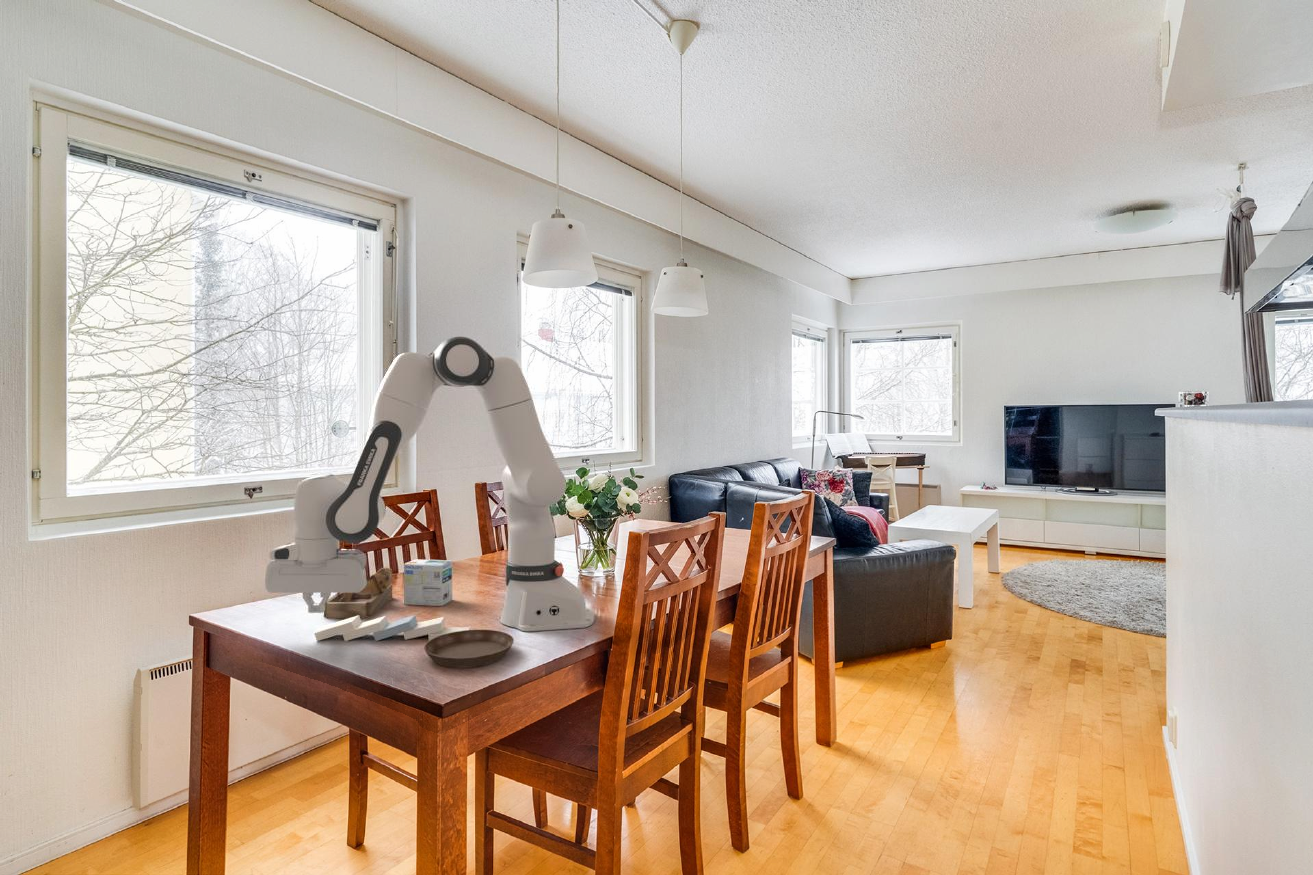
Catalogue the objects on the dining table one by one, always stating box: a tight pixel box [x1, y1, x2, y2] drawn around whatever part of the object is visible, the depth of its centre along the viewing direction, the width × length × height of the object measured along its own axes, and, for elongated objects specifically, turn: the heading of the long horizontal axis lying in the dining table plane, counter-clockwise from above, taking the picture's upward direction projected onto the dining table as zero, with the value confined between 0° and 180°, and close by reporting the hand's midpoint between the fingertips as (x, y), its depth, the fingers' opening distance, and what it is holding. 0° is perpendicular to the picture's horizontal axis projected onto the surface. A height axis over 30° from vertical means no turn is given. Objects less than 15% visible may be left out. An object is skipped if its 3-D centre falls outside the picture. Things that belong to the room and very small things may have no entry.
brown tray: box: [323, 584, 393, 619], centre depth 172 cm, size 11×19×4 cm, turn 5°
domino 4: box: [402, 616, 446, 641], centre depth 151 cm, size 2×5×8 cm
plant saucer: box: [423, 629, 515, 669], centre depth 139 cm, size 18×18×3 cm
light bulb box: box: [403, 558, 453, 607], centre depth 177 cm, size 11×7×11 cm, turn 84°
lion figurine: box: [336, 567, 394, 602], centre depth 172 cm, size 15×5×9 cm, turn 124°
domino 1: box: [313, 615, 362, 642], centre depth 149 cm, size 2×5×8 cm
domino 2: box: [341, 615, 389, 642], centre depth 149 cm, size 2×5×8 cm
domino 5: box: [428, 626, 471, 641], centre depth 151 cm, size 2×5×8 cm
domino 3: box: [372, 614, 418, 642], centre depth 149 cm, size 2×5×8 cm
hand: (316, 612), depth 148 cm, fingers closed
